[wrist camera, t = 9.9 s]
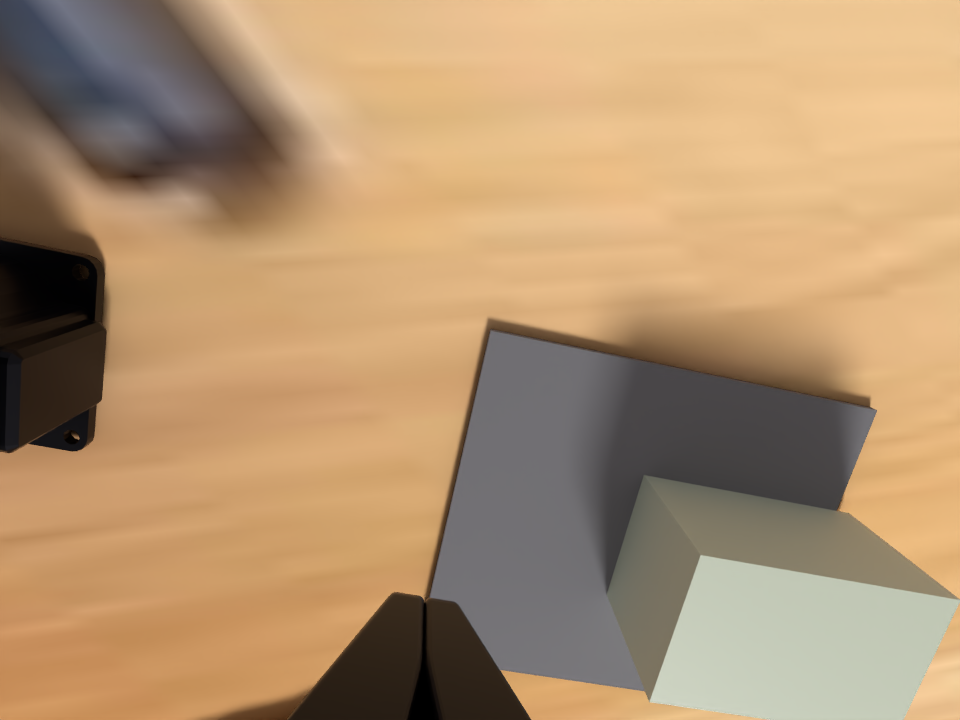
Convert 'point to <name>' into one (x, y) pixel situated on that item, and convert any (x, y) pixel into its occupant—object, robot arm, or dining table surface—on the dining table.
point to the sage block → (771, 607)
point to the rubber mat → (606, 487)
